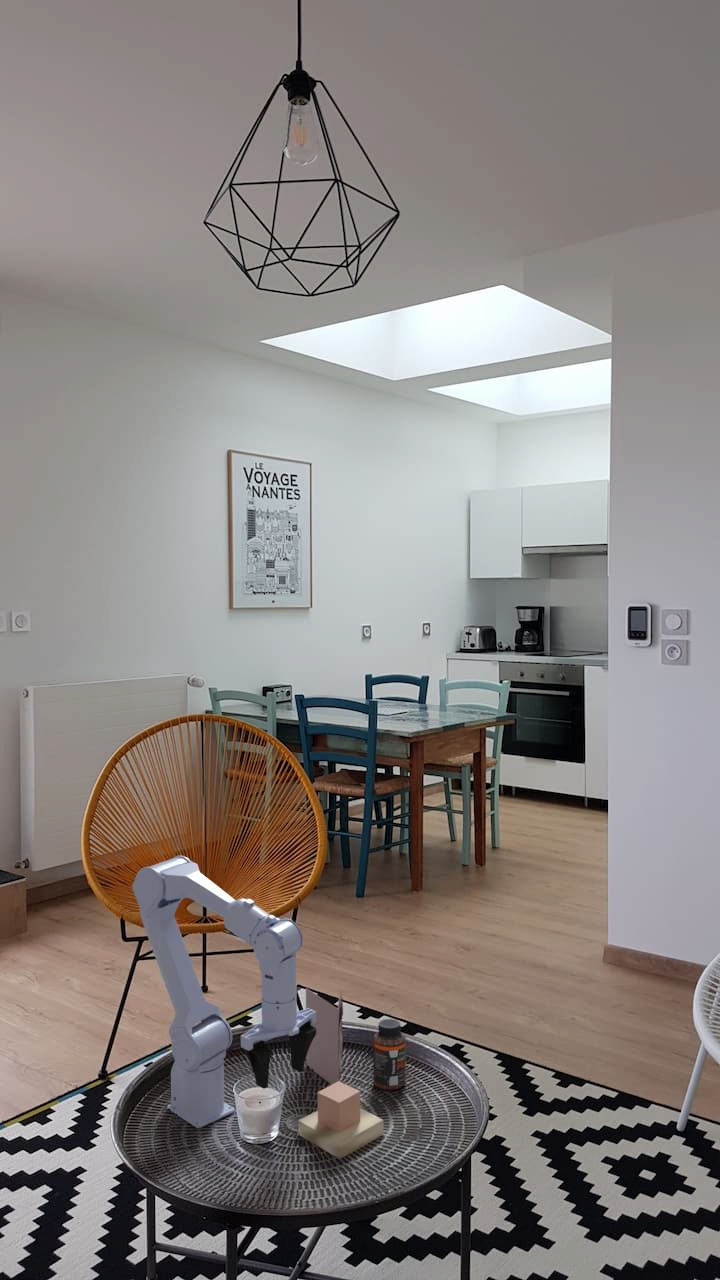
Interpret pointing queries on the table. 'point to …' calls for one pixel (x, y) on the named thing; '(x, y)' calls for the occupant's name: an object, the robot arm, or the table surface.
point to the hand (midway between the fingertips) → (280, 1077)
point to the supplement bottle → (389, 1056)
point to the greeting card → (326, 1037)
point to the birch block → (341, 1133)
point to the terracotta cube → (338, 1106)
